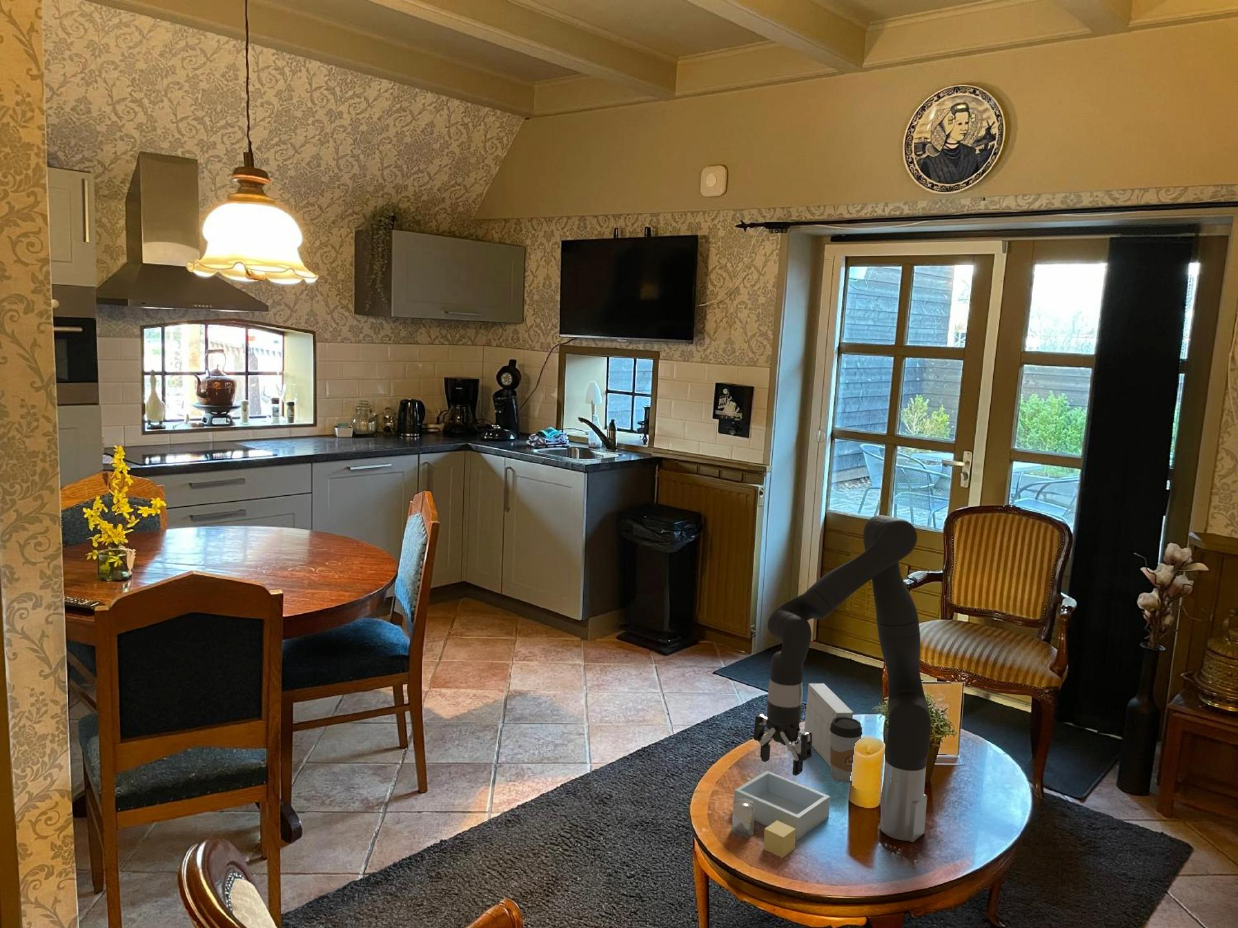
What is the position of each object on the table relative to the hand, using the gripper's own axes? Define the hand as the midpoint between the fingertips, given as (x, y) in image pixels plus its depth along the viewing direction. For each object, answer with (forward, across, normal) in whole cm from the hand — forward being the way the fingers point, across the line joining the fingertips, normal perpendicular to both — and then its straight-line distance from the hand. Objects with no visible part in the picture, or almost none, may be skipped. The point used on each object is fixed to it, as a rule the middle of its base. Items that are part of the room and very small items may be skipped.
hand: (780, 767), depth 209 cm
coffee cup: (+19, +8, -40) cm, 44 cm away
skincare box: (+19, +19, -49) cm, 56 cm away
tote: (+19, +7, -12) cm, 23 cm away
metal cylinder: (+19, +8, +2) cm, 21 cm away
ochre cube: (+19, -2, +1) cm, 19 cm away
